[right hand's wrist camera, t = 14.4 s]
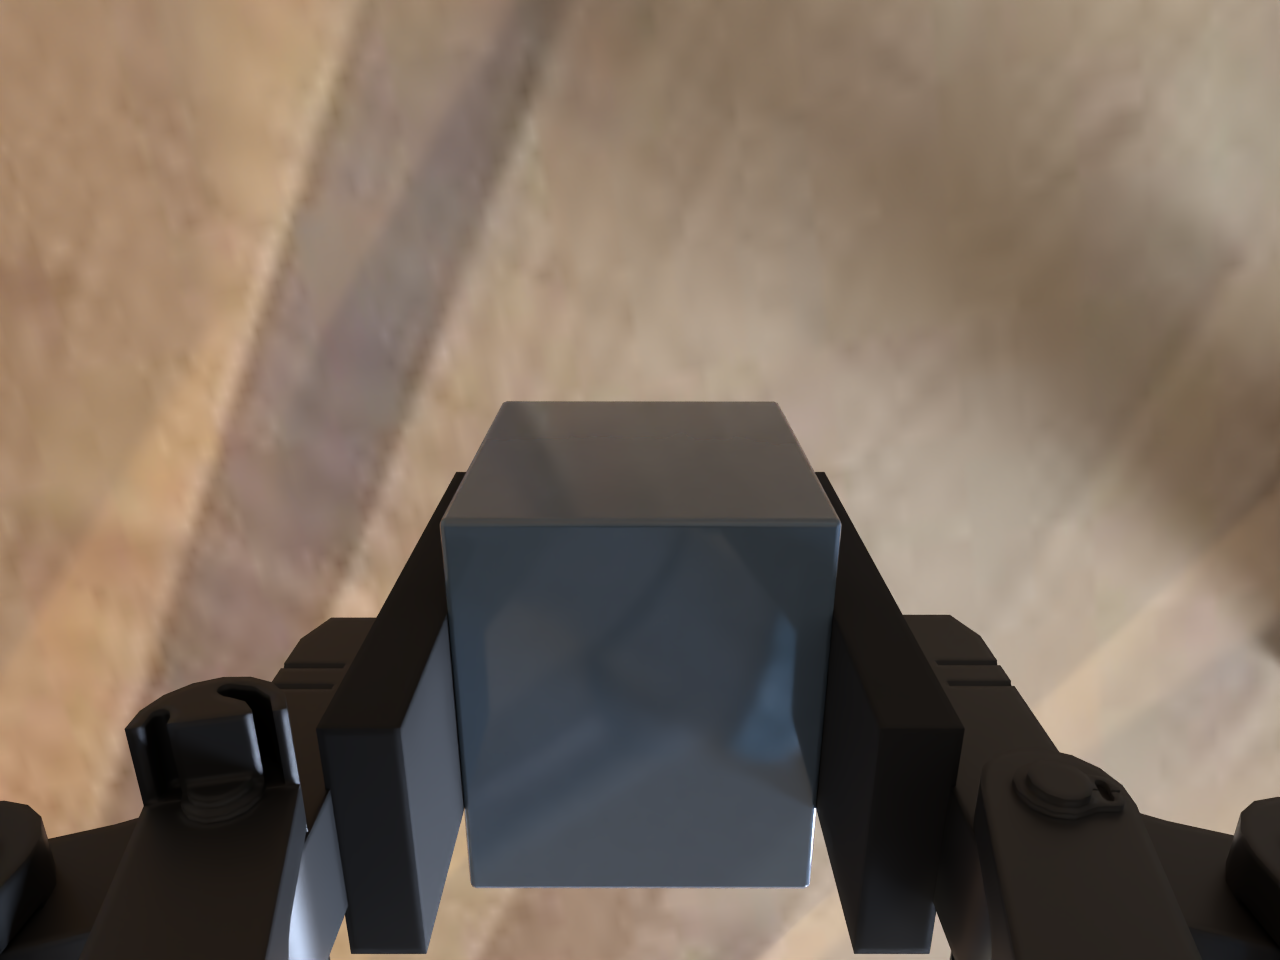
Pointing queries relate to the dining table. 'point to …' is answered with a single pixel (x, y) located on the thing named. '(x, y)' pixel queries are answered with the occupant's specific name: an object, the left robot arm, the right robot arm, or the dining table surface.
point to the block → (640, 645)
